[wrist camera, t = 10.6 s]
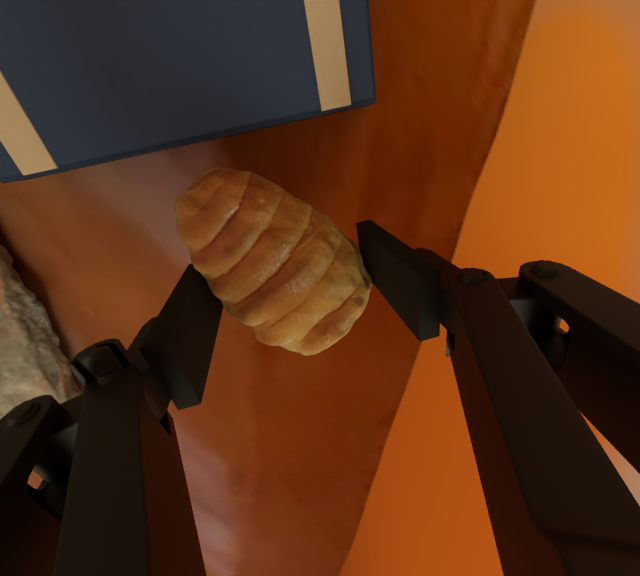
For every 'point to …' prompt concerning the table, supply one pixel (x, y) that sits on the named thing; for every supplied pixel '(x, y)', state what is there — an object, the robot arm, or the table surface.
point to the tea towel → (168, 74)
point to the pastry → (273, 260)
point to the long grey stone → (28, 346)
